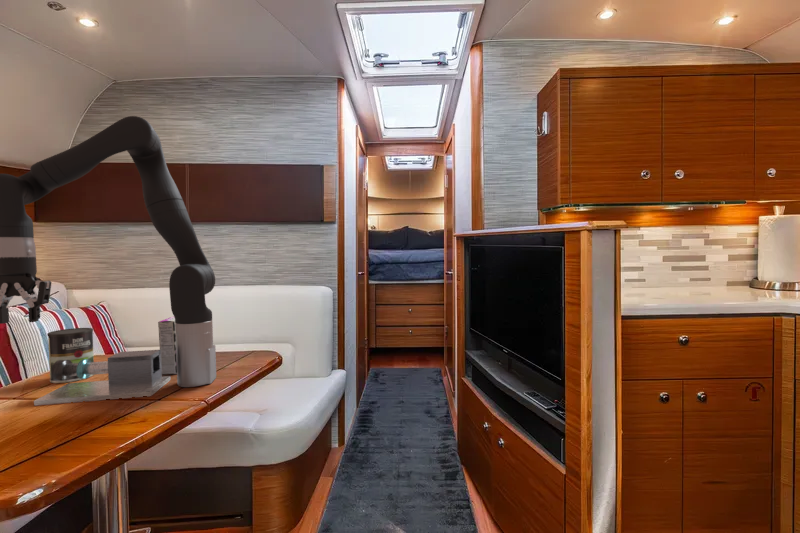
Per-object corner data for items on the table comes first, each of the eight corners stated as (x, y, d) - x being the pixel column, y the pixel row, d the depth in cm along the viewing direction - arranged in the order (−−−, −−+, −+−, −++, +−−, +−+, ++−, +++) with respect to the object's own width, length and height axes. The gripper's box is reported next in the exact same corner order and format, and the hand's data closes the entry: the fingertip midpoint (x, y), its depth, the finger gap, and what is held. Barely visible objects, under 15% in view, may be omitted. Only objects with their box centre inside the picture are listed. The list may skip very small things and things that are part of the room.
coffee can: (101, 375, 117) (99, 329, 116) (57, 385, 108) (54, 335, 107) (86, 370, 122) (84, 326, 122) (44, 379, 113) (41, 332, 113)
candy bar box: (177, 364, 127) (175, 315, 126) (193, 364, 127) (191, 314, 127) (159, 375, 116) (157, 321, 115) (176, 374, 116) (174, 320, 116)
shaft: (142, 372, 106) (141, 353, 106) (133, 378, 101) (132, 358, 101) (65, 377, 102) (64, 358, 102) (51, 383, 97) (50, 363, 97)
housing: (170, 379, 111) (169, 346, 111) (150, 396, 98) (149, 358, 98) (68, 387, 106) (67, 352, 106) (34, 405, 93) (32, 365, 93)
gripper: (58, 255, 102) (61, 318, 103) (-7, 256, 99) (-3, 321, 100) (38, 255, 95) (41, 323, 95) (-33, 256, 92) (-29, 326, 92)
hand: (18, 322), depth 98 cm, fingers open, 5 cm apart
